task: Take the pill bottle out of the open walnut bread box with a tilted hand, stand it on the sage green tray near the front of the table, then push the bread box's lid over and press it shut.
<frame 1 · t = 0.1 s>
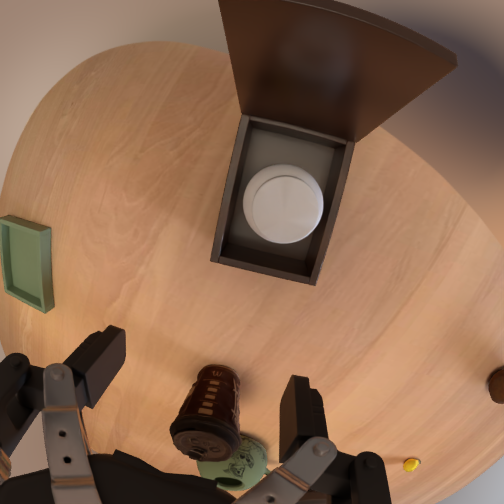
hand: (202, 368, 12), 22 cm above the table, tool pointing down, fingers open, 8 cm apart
coffee cup: (218, 379, 39), on the table
pill bottle: (280, 195, 31), point 1 cm above the table, touching breadbox
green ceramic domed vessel: (240, 449, 44), on the table
breadbox: (280, 194, 31), on the table
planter: (307, 495, 50), on the table
potato: (496, 378, 37), on the table
breadbox lid: (316, 84, 15), point 14 cm above the table, hinge at 100.0°
tray: (29, 260, 36), on the table
yellow rounded lump: (411, 459, 45), on the table
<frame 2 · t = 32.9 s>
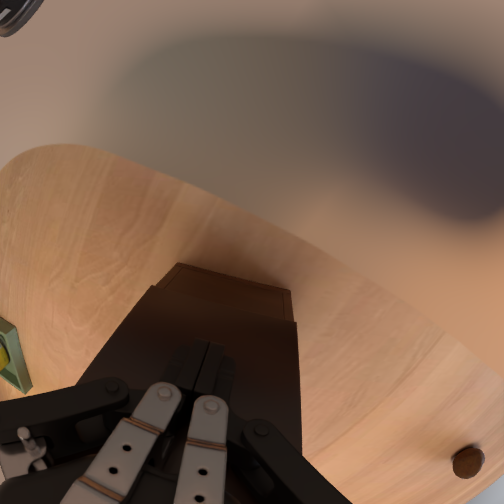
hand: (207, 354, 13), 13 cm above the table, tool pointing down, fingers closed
pill bottle: (2, 344, 32), resting on tray
breadbox: (218, 341, 28), on the table
potato: (464, 452, 34), on the table
breadbox lid: (193, 392, 12), point 14 cm above the table, hinge at 84.6°, touching gripper
tray: (4, 345, 33), on the table
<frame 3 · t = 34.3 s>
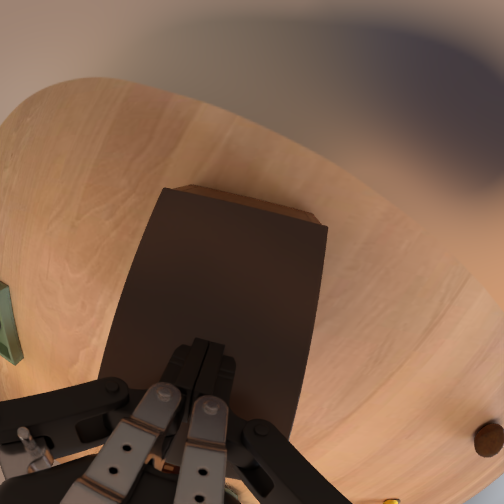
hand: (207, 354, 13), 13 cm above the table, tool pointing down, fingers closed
breadbox: (232, 277, 26), on the table
potato: (484, 430, 32), on the table
breadbox lid: (210, 333, 15), point 11 cm above the table, hinge at 39.8°
yellow rounded lump: (390, 499, 40), on the table
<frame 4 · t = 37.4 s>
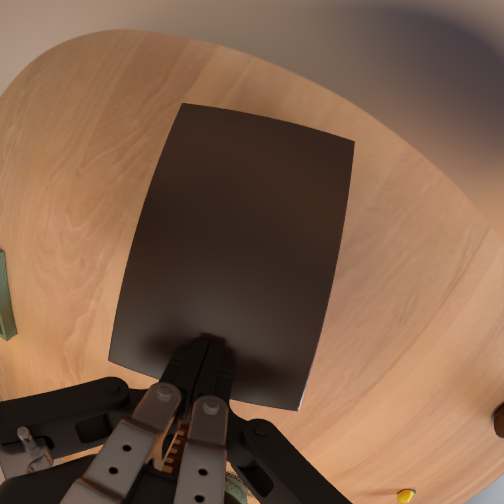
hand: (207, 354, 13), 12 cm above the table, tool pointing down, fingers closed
coffee cup: (188, 422, 32), on the table
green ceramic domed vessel: (220, 484, 37), on the table
potato: (503, 410, 30), on the table
breadbox lid: (234, 247, 15), point 9 cm above the table, hinge at 24.2°, touching gripper
yellow rounded lump: (406, 490, 38), on the table
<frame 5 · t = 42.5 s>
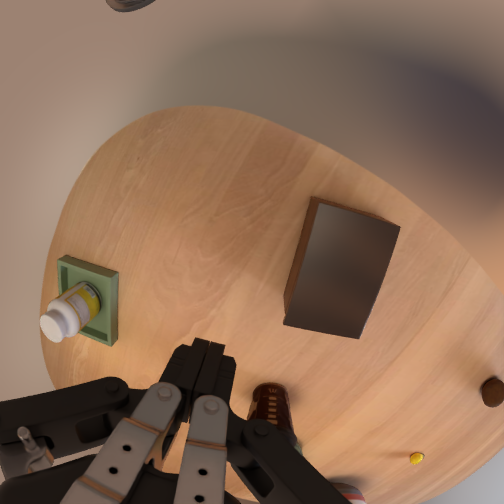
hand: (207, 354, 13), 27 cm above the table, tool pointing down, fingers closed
coffee cup: (269, 394, 47), on the table
pill bottle: (89, 297, 44), resting on tray
breadbox: (333, 256, 39), on the table
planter: (328, 487, 58), on the table
potato: (489, 385, 45), on the table
breadbox lid: (342, 276, 33), point 6 cm above the table, hinge at 1.5°
tray: (90, 298, 44), on the table
yellow rounded lump: (416, 453, 53), on the table
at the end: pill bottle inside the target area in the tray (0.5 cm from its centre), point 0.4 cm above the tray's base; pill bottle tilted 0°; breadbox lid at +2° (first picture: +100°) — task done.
